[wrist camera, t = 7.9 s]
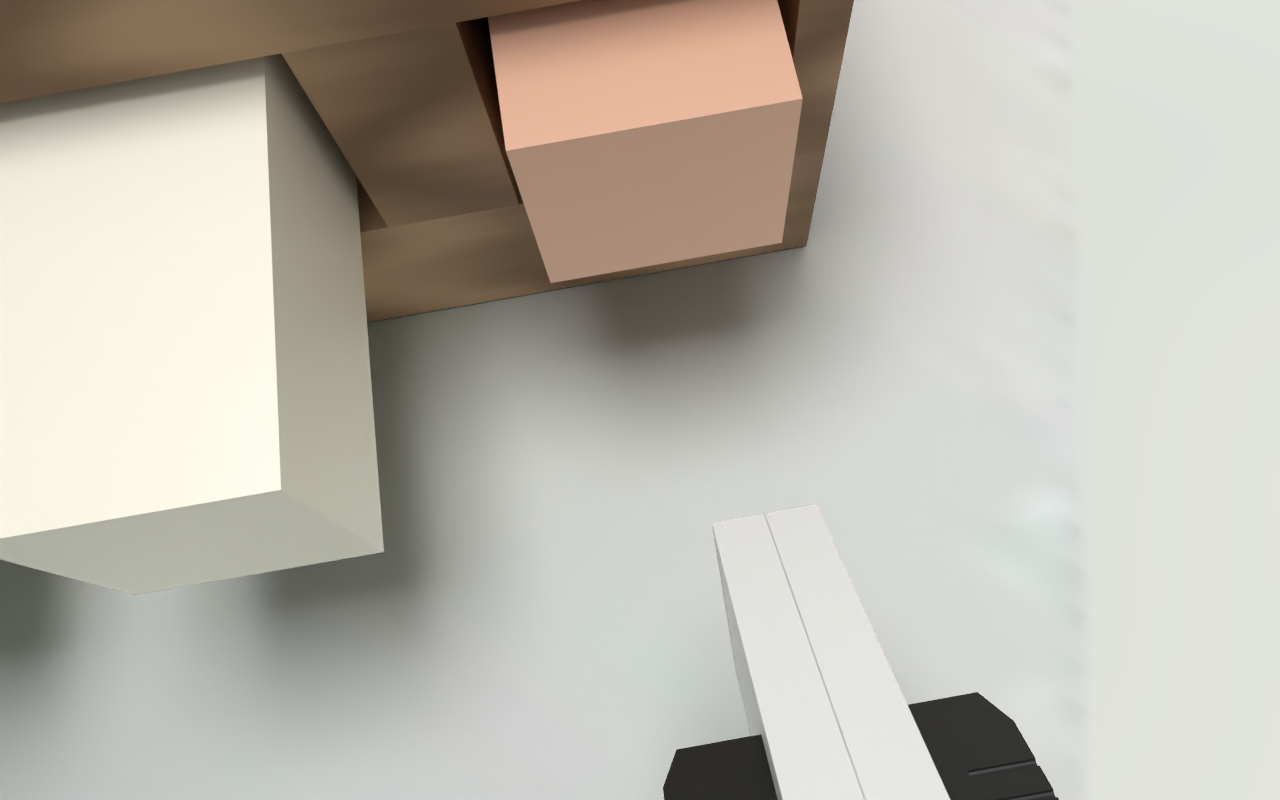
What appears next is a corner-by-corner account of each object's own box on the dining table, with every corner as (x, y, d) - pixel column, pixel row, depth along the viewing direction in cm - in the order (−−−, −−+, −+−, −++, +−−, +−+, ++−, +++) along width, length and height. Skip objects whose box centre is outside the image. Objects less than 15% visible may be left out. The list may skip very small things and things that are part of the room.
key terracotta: (550, 283, 21) (505, 150, 17) (503, -46, 24) (453, -237, 20) (781, 242, 21) (802, 98, 17) (705, -82, 24) (704, -282, 20)
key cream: (134, 595, 20) (-48, 547, 15) (138, 200, 23) (-11, 56, 18) (383, 551, 20) (281, 489, 15) (354, 162, 23) (262, 8, 18)
